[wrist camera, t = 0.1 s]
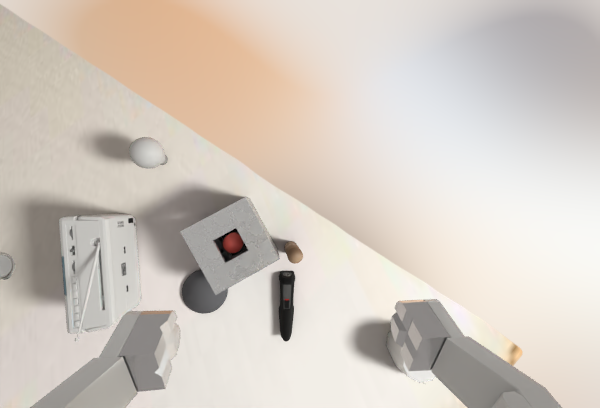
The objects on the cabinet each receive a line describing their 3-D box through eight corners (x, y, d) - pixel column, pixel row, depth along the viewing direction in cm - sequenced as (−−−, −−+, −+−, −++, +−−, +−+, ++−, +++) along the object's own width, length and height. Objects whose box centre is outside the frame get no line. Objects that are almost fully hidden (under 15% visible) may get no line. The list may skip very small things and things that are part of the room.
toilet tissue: (402, 380, 67) (422, 405, 59) (380, 333, 67) (396, 352, 58) (433, 362, 68) (456, 384, 60) (411, 316, 68) (432, 332, 59)
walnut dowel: (299, 249, 64) (305, 258, 54) (288, 256, 64) (292, 266, 53) (293, 239, 64) (298, 245, 53) (282, 245, 64) (285, 253, 53)
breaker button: (247, 245, 58) (246, 247, 55) (230, 254, 58) (228, 256, 55) (238, 228, 58) (236, 230, 55) (221, 238, 58) (219, 239, 55)
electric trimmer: (277, 335, 64) (277, 342, 61) (279, 270, 64) (279, 274, 61) (292, 334, 65) (294, 341, 61) (294, 270, 65) (295, 274, 61)
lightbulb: (182, 161, 62) (164, 151, 51) (161, 178, 61) (138, 172, 50) (164, 141, 61) (141, 126, 50) (143, 158, 61) (115, 147, 50)
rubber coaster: (235, 298, 63) (235, 299, 62) (196, 320, 62) (195, 321, 61) (214, 261, 62) (214, 261, 62) (174, 282, 61) (173, 283, 60)
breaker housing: (277, 250, 64) (279, 259, 53) (225, 279, 62) (215, 295, 51) (249, 198, 63) (245, 196, 52) (195, 227, 62) (179, 231, 51)
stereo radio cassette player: (101, 214, 60) (17, 218, 40) (140, 212, 61) (77, 214, 41) (108, 308, 60) (27, 359, 40) (147, 304, 60) (87, 351, 41)
